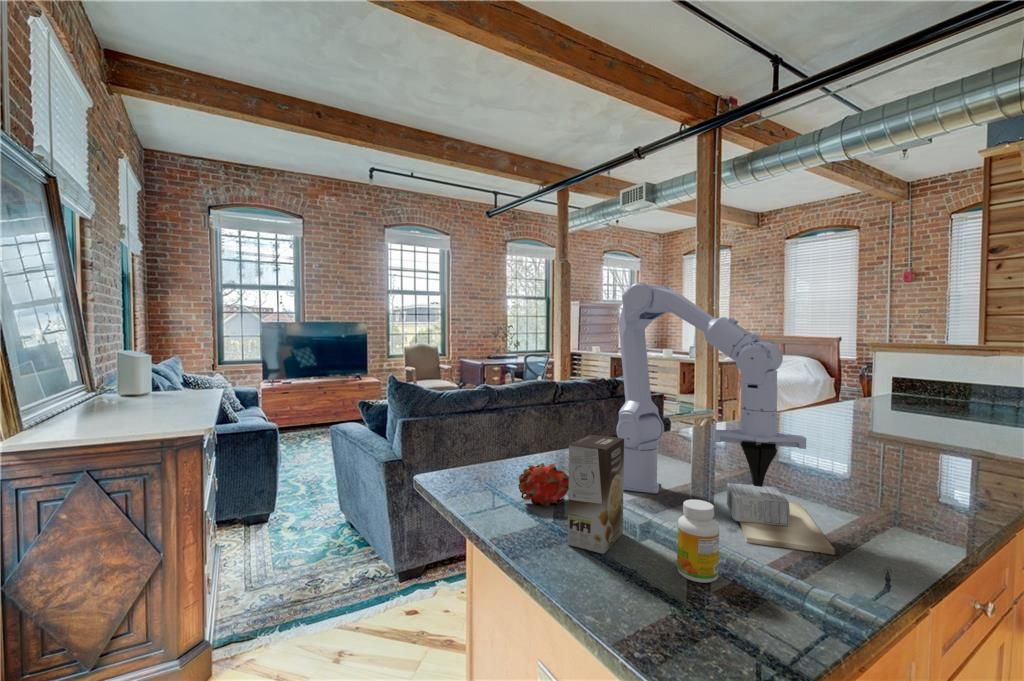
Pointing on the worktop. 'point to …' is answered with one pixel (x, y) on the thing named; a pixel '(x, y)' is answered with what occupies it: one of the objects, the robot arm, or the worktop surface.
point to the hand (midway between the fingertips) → (757, 484)
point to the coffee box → (595, 492)
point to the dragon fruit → (543, 484)
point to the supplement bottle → (698, 542)
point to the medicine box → (757, 504)
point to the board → (789, 533)
